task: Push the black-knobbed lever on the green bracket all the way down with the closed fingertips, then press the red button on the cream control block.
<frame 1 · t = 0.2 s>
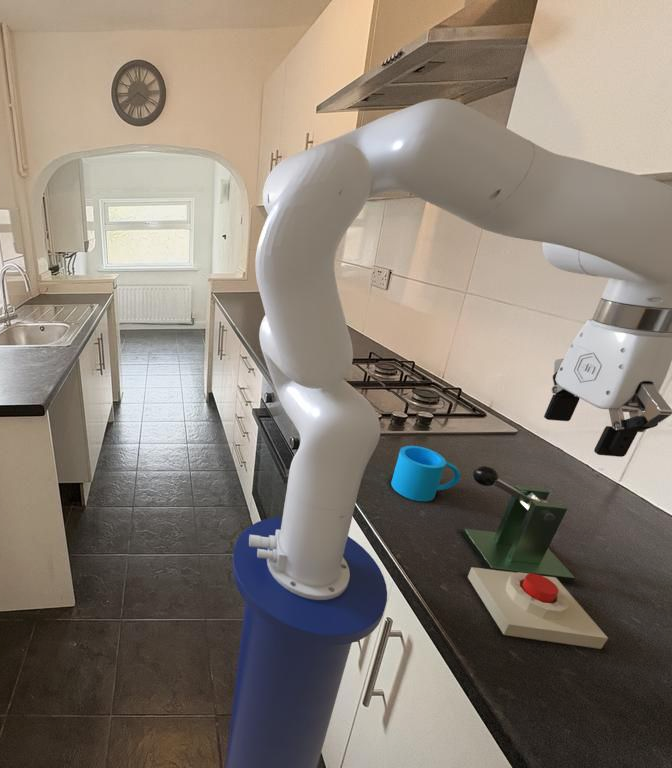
hand: (580, 435, 58), 26 cm above the worktop, tool pointing down, fingers open, 9 cm apart
mug: (422, 490, 88), on the worktop
lever: (510, 490, 66), point 13 cm above the worktop, hinge at 28.0°
button block: (528, 609, 62), on the worktop
button: (539, 588, 60), point 5 cm above the worktop, slide at 0.2 cm
bracket: (513, 556, 71), on the worktop
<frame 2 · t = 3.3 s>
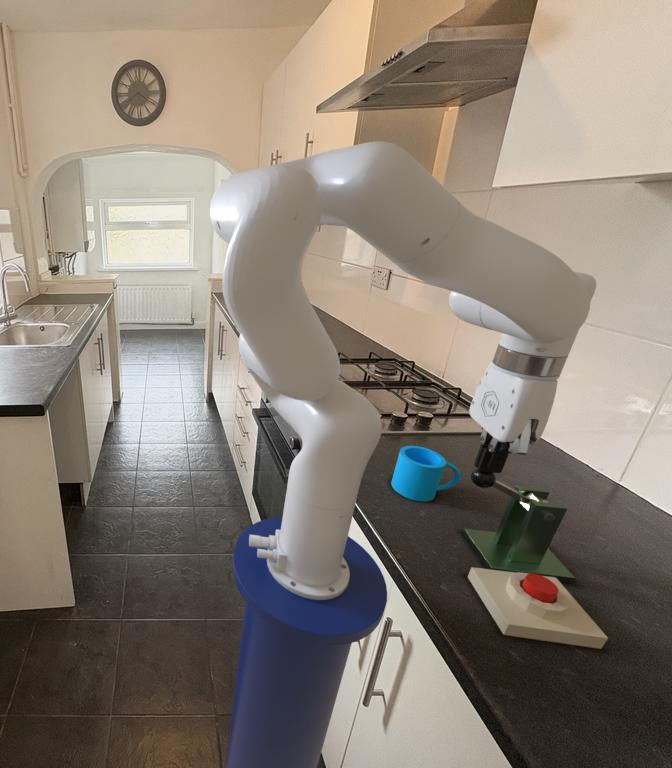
hand: (487, 469, 66), 17 cm above the worktop, tool pointing down, fingers closed
lever: (509, 491, 66), point 13 cm above the worktop, hinge at 25.3°, touching gripper
everything else where it was.
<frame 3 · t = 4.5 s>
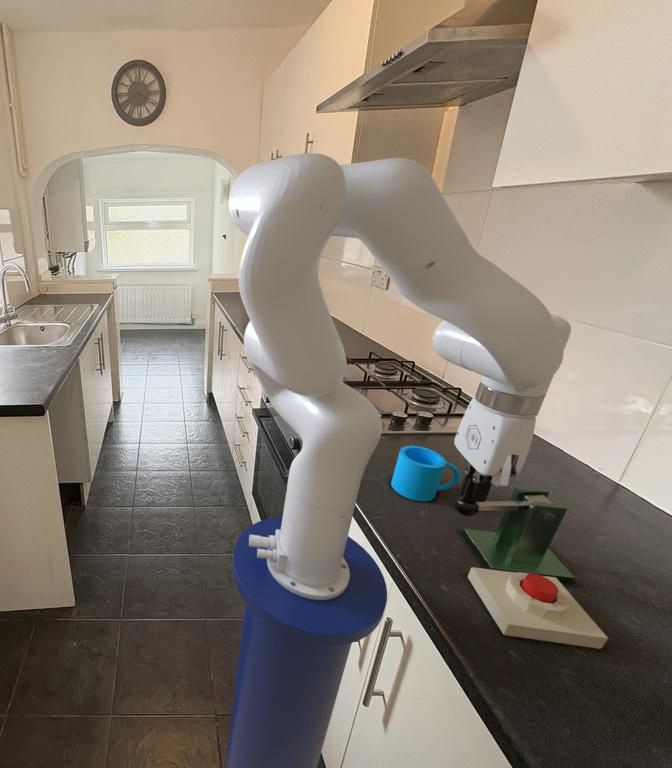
hand: (471, 498, 68), 11 cm above the worktop, tool pointing down, fingers closed
lever: (500, 505, 68), point 10 cm above the worktop, hinge at -8.9°, touching gripper
everything else where it was.
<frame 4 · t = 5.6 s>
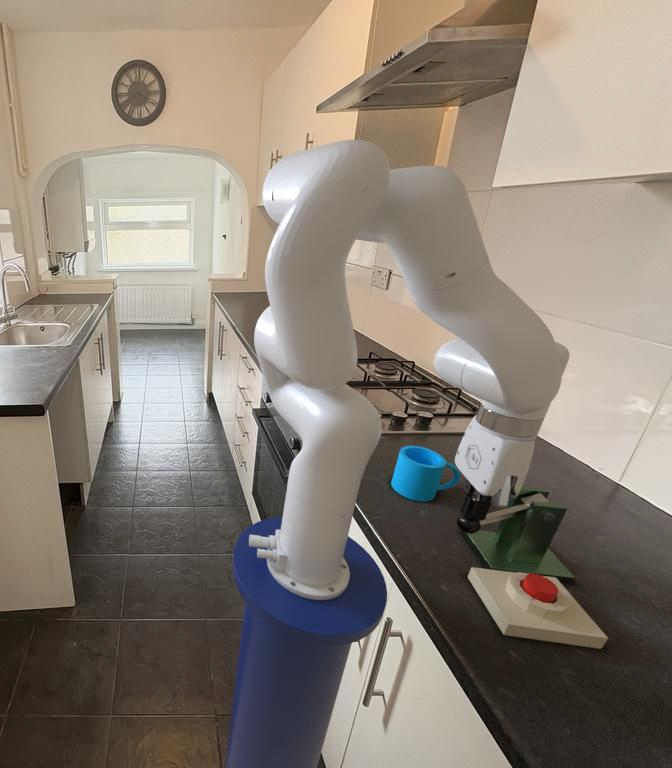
hand: (471, 515, 69), 8 cm above the worktop, tool pointing down, fingers closed
lever: (501, 515, 68), point 8 cm above the worktop, hinge at -30.4°, touching gripper
everything else where it was.
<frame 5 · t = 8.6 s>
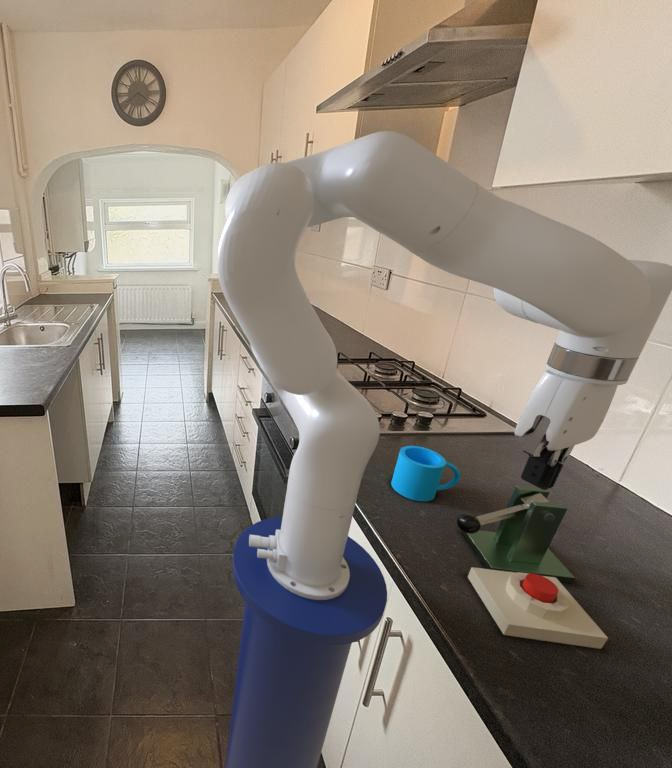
hand: (536, 483, 59), 19 cm above the worktop, tool pointing down, fingers closed
lever: (501, 515, 68), point 8 cm above the worktop, hinge at -30.4°
everything else where it was.
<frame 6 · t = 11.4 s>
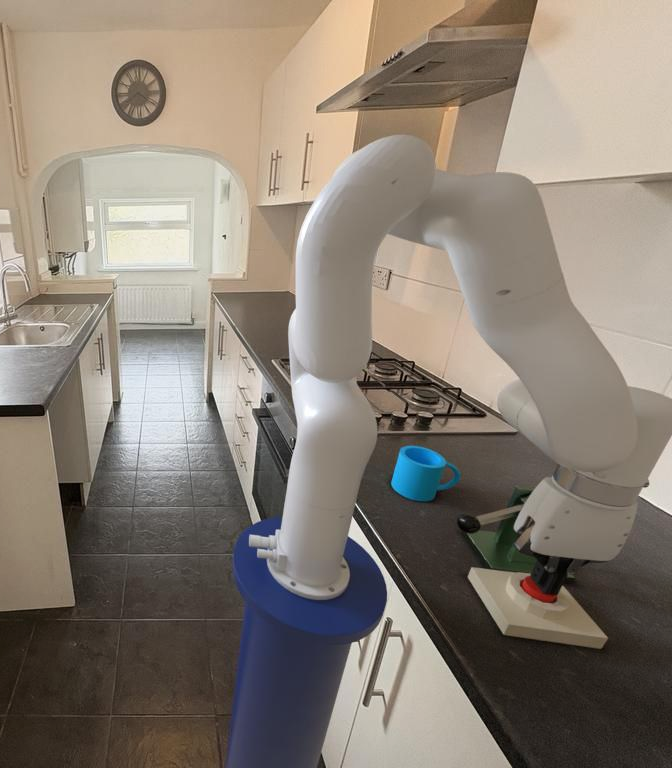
hand: (542, 586, 60), 5 cm above the worktop, tool pointing down, fingers closed
button: (538, 590, 60), point 4 cm above the worktop, slide at -0.3 cm, touching gripper
everything else where it was.
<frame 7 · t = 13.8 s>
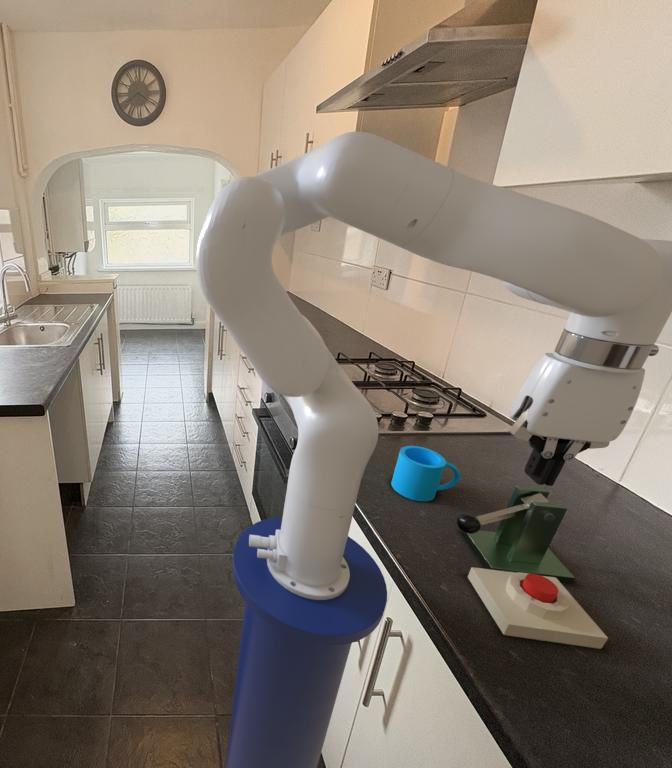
hand: (537, 478, 56), 21 cm above the worktop, tool pointing down, fingers closed
button: (539, 588, 60), point 5 cm above the worktop, slide at 0.2 cm
everything else where it was.
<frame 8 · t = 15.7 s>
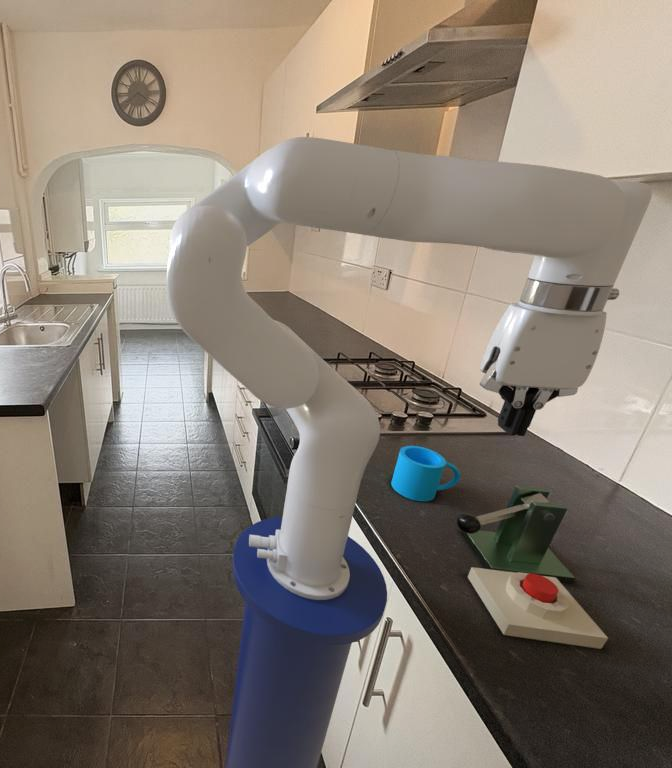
hand: (510, 430, 57), 27 cm above the worktop, tool pointing down, fingers closed
nothing on the worktop moved.
at the end: lever at -30° (first picture: +28°); button pushed in 1.1 cm at the most during the clip, back to 0.2 cm at the end; button slide at 0.2 cm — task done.
